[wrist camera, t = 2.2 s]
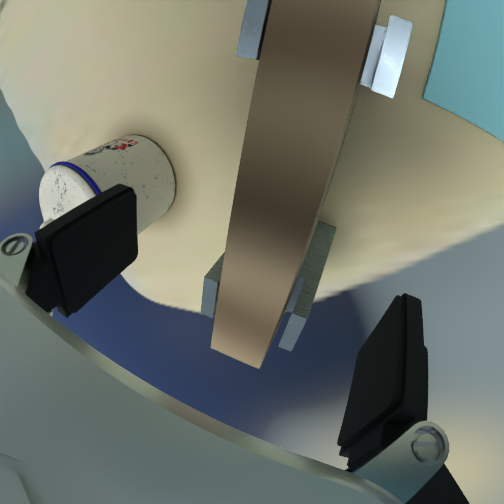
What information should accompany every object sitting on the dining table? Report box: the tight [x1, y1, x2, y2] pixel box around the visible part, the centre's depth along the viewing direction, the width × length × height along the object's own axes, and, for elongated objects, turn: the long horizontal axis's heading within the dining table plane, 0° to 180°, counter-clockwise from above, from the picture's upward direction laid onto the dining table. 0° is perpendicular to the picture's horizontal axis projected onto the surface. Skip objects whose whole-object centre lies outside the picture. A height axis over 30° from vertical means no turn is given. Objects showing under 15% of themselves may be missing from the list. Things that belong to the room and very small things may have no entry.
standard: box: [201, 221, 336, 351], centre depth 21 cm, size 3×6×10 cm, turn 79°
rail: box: [211, 0, 381, 369], centre depth 13 cm, size 20×3×4 cm, turn 169°
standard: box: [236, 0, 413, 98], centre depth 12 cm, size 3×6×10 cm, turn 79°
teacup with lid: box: [39, 135, 175, 235], centre depth 24 cm, size 12×9×12 cm
